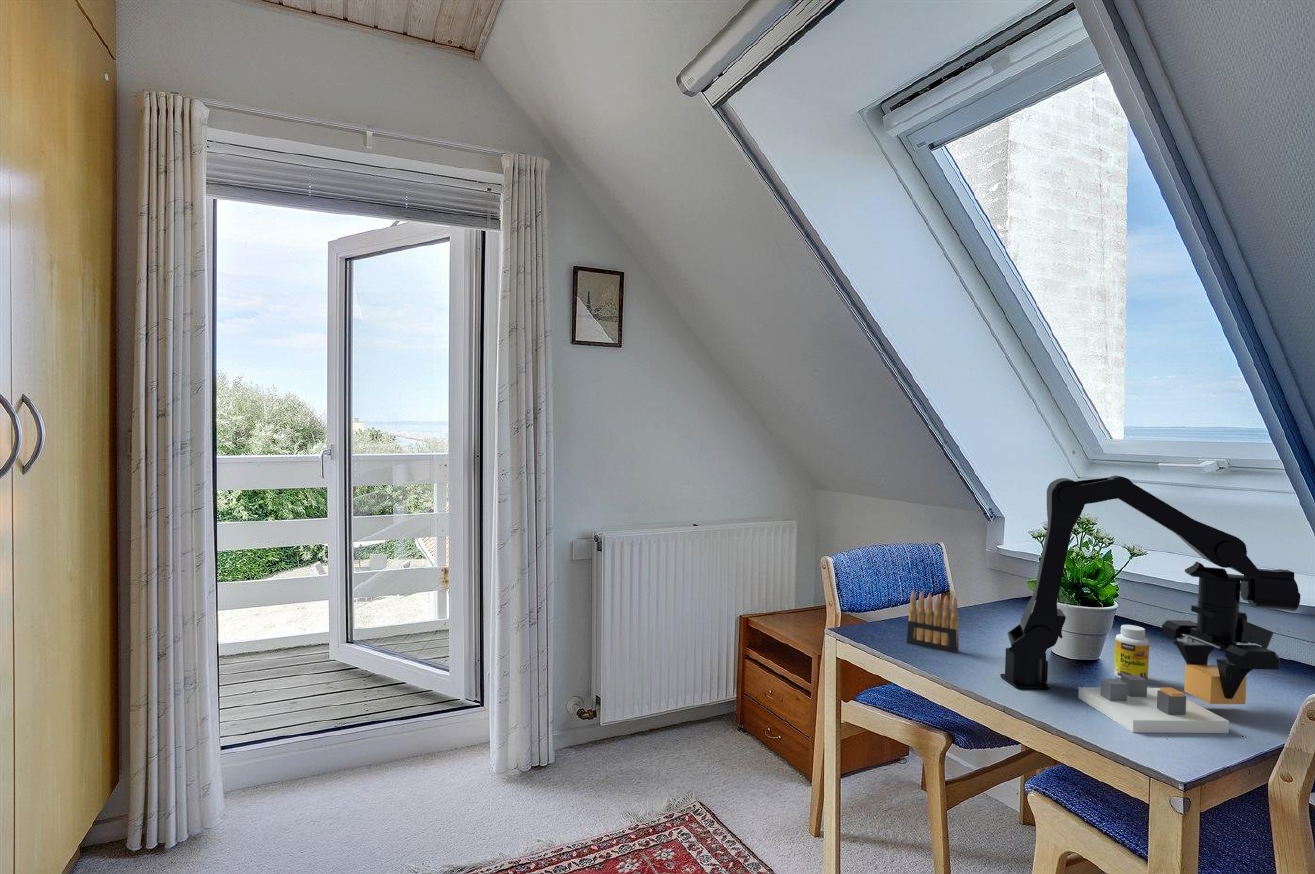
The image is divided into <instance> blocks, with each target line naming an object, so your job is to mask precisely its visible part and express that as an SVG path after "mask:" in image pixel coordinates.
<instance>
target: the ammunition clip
mask: <svg viewBox="0 0 1315 874" xmlns="http://www.w3.org/2000/svg"><path fill="white" fill-rule="evenodd" d="M932 596H933V595H932V593H931V592H929V593H928V595H927V599H926V607H925V595H924V592H923V591H922V590H921V591H920V592H919V597H918V603H917V596H916V591H915V590H914V589H913V590H912V591H911V595H910V601H909V608H908V621H907V629H906V630H907V631H906V632H907V633H906V641H905V642H906V644H908V645H909V644H910V645H914V646H917V647H918V646H919V647H924V648H928V649H933V650H936V651H937V650H938V651H943V652H946V653H947V652H948V653H953V654H957V653H958V652H959V614H958V613H959V612H958V601H957V598H956V596H954V597H953V599H952V600H951V601H952V603H951V607H950V602H949V600H950V599H949V597H948V595H945V597H944V598H943V604H942V603H941V602H942V601H941V597H940V594H939V593H937V595H936V596H935V600H934V601H935V602H934V607H933V597H932ZM941 604H942V608H941ZM933 608H934V610H933ZM950 608H951V609H950Z"/></svg>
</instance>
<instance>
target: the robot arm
mask: <svg viewBox="0 0 1315 874" xmlns="http://www.w3.org/2000/svg"><path fill="white" fill-rule="evenodd" d="M1117 499H1118V500H1120V501H1121V502H1123V503H1125V504H1126V505H1128V506H1129V507H1131V508H1133V509H1134V510H1136V511H1138V512H1139V513H1141V514H1142V515H1144V516H1146V517H1147V518H1149V519H1151V520H1153V521H1154V522H1156V523H1157V524H1159V525H1161V526H1162V527H1163V528H1166V529H1167V530H1169V531H1170V532H1171V533H1174V534H1175V535H1176V536H1177V537H1178V538H1180V539H1181V540H1182V541H1183V542H1184V543H1185V544H1186V545H1187V546H1188V547H1190V549H1192V550H1193V551H1194V552H1195V553H1196V554H1197V555H1199V557H1201V558H1202V559H1204V560H1205V561H1208V562H1210V563H1211V564H1214V565H1215V566H1218V567H1211V566H1210V567H1209V566H1204V564H1203V563H1201V562H1199V561H1196V562H1194V564H1192V565H1191V566H1189V567H1187V568H1184V572H1185V574H1188V575H1189V576H1190V577H1192V578H1198V590H1197V591H1198V593H1197V605H1191V606H1190V607H1191V609H1190V611H1191V612H1193V613H1196V615H1197V616H1196V622H1195V621H1192V620H1180V619H1179V620H1176V619H1175V620H1173V619H1169V620H1168V619H1166V620H1165V622H1163V624H1162V625H1161V635H1162V636H1164V637H1167V638H1169V639H1172V640H1173V641H1172V643H1173V645H1175V646H1176V647H1177V649H1178V651H1179V653H1180V654H1181V656H1182V657H1183V660H1184V662H1185V665H1208V662H1209V661H1208V660H1209V655H1210V654H1211V653H1212V652H1213V651H1214V649H1216V650H1219V651H1221V652H1223V653H1224V654H1225V655H1224V656H1225V658H1226V659H1223V658H1222V659H1220V658H1219V659H1218V658H1217V659H1216V665H1217V666H1218V670H1219V675H1220V680H1221V685H1222V690H1223V693H1224V696H1225V698H1227V699H1232V698H1233V697H1234V695H1235V693H1236V691H1237V690H1238V688H1239V686H1240V684H1241V682H1242V681H1243V679H1244V677H1245V676H1246V677H1247V675H1248V673H1249V672H1252V671H1253V670H1280V657H1279V655H1278V654H1277V653H1276V651H1274V650H1271V649H1268V647H1269V646H1270V642H1271V640H1272V638H1273V636H1274V631H1272V630H1268V629H1266V628H1265V627H1261V626H1259V625H1256V624H1253V623H1251V622H1249V621H1248V615H1247V613H1246V612H1242V611H1240V602H1241V600H1240V599H1242V600H1243V601H1247V603H1248V605H1249V606H1250V607H1251V608H1258V609H1269V610H1270V609H1271V610H1278V611H1279V610H1281V611H1288V612H1289V611H1290V612H1295V611H1297V610H1298V608H1299V606H1300V604H1301V603H1300V602H1301V593H1300V591H1299V586H1298V584H1297V581H1296V580H1295V572H1294V571H1292V570H1290V569H1280V568H1279V569H1270V568H1269V569H1267V568H1258V567H1257V565H1255V564H1254V563H1253V561H1252V560H1251V559H1250V557H1248V555H1247V554H1248V550H1247V544H1246V543H1245V542H1244V541H1243V539H1242V540H1241V539H1240V538H1239V537H1237V536H1235V535H1232V534H1231V533H1227V532H1225V531H1223V530H1220V529H1217V528H1216V527H1213V526H1211V525H1208V524H1207V523H1206V524H1205V523H1203V522H1201V521H1198V520H1196V519H1193V518H1192V517H1190V516H1189V515H1186V514H1185V513H1184V512H1182V511H1180V510H1178V509H1176V507H1173V506H1172V505H1171V504H1169V503H1167V502H1165V501H1163V500H1162V499H1160V498H1159V497H1157V496H1156V495H1153V494H1152V493H1150V492H1148V491H1147V490H1146V489H1143V488H1141V487H1140V486H1139V485H1137V484H1135V483H1134V482H1133V481H1131V480H1130V479H1129V477H1128V478H1127V477H1125V476H1121V475H1111V476H1108V477H1103V478H1092V479H1090V478H1089V479H1082V480H1073V479H1070V478H1067V477H1061V478H1056V479H1055V480H1053V481H1051V482H1050V483H1049V484H1048V486H1047V489H1046V515H1047V527H1046V530H1045V531H1046V532H1045V536H1044V542H1043V547H1042V551H1041V557H1040V562H1039V567H1038V570H1037V576H1036V581H1035V587H1034V590H1033V594H1032V596H1031V598H1030V600H1029V602H1028V603H1027V604H1026V606H1025V609H1024V612H1023V613H1022V615H1021V616H1022V617H1021V618H1020V620H1019V621H1020V622H1019V624H1018V625H1016V626H1015V627H1014V628H1012V629H1010V630H1009V631H1008V632H1007V637H1008V640H1009V643H1010V647H1005V655H1004V656H1005V660H1004V661H1005V662H1004V673H1000V674H999V675H1000V678H1001V679H1003V680H1004V681H1006V682H1008V683H1009V684H1010V685H1011V686H1013V687H1014V688H1016V689H1024V690H1025V689H1028V690H1030V689H1031V690H1032V689H1034V690H1035V689H1036V690H1038V689H1039V690H1045V689H1046V690H1049V689H1051V685H1050V684H1048V677H1049V661H1048V660H1047V653H1046V652H1047V650H1048V649H1050V648H1052V647H1054V646H1056V644H1057V642H1058V641H1059V640H1058V639H1063V634H1062V632H1063V631H1062V630H1063V626H1064V625H1065V622H1066V619H1067V617H1066V615H1065V613H1064V612H1063V610H1062V609H1061V608H1058V598H1059V593H1060V589H1061V584H1062V579H1063V574H1064V569H1065V566H1066V565H1065V564H1066V559H1067V555H1068V550H1069V545H1070V541H1071V535H1072V532H1073V529H1074V527H1075V526H1076V524H1077V521H1079V519H1080V517H1081V515H1082V513H1083V510H1084V508H1085V505H1089V504H1095V503H1102V502H1106V501H1110V500H1117ZM1227 568H1229V569H1232V570H1234V571H1236V572H1237V573H1239V574H1233V573H1228V572H1227V570H1226V569H1227ZM1175 639H1176V640H1175Z"/></svg>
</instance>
